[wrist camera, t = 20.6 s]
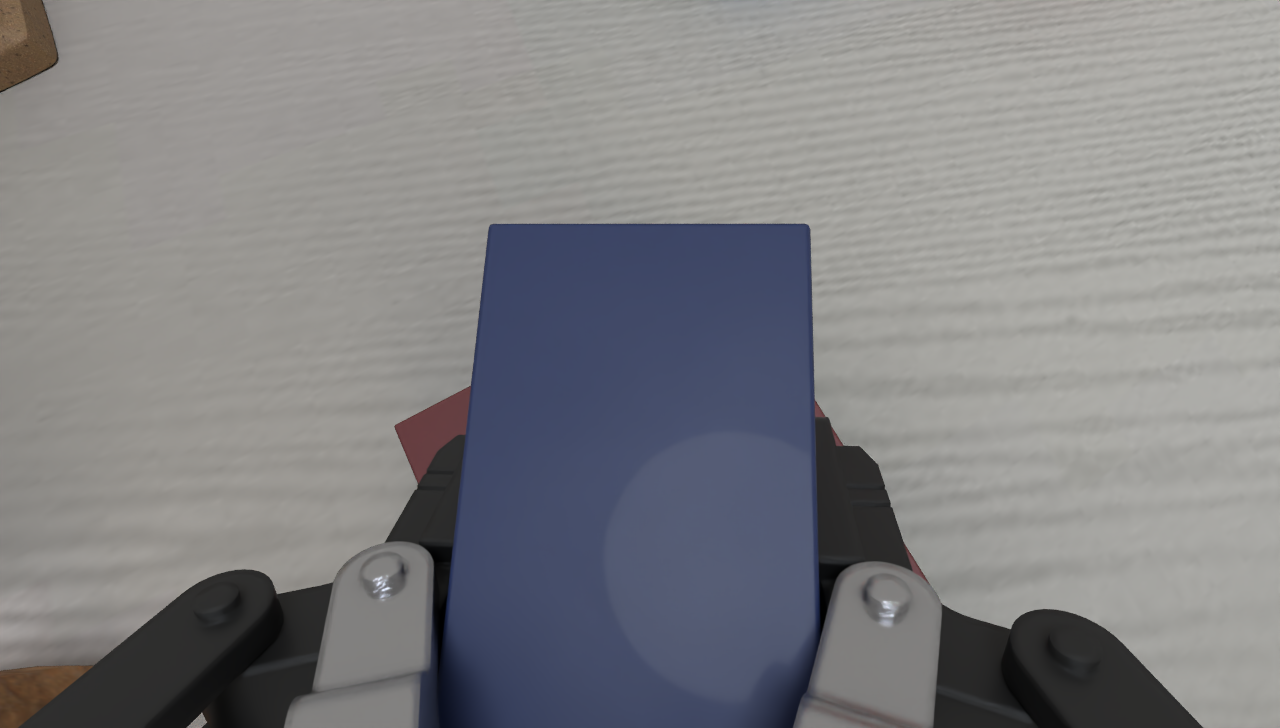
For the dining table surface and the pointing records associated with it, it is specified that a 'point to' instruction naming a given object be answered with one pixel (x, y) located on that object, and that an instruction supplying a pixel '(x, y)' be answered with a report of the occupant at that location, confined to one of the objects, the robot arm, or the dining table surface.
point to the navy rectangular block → (637, 482)
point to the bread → (32, 690)
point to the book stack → (450, 420)
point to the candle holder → (24, 41)
